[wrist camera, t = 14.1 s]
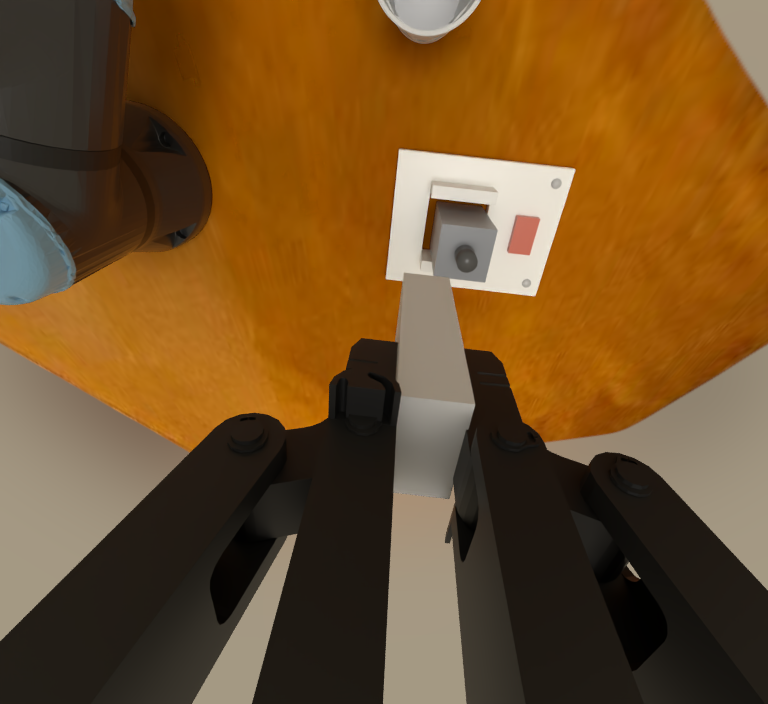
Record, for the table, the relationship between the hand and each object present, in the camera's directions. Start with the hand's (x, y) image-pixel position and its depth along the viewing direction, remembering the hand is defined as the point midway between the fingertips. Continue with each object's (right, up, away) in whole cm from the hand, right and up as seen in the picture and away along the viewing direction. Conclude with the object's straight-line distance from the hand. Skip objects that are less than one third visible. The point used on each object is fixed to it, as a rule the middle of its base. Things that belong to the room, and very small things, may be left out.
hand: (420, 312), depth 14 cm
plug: (+7, +13, +32) cm, 35 cm away
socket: (+9, +13, +32) cm, 35 cm away
